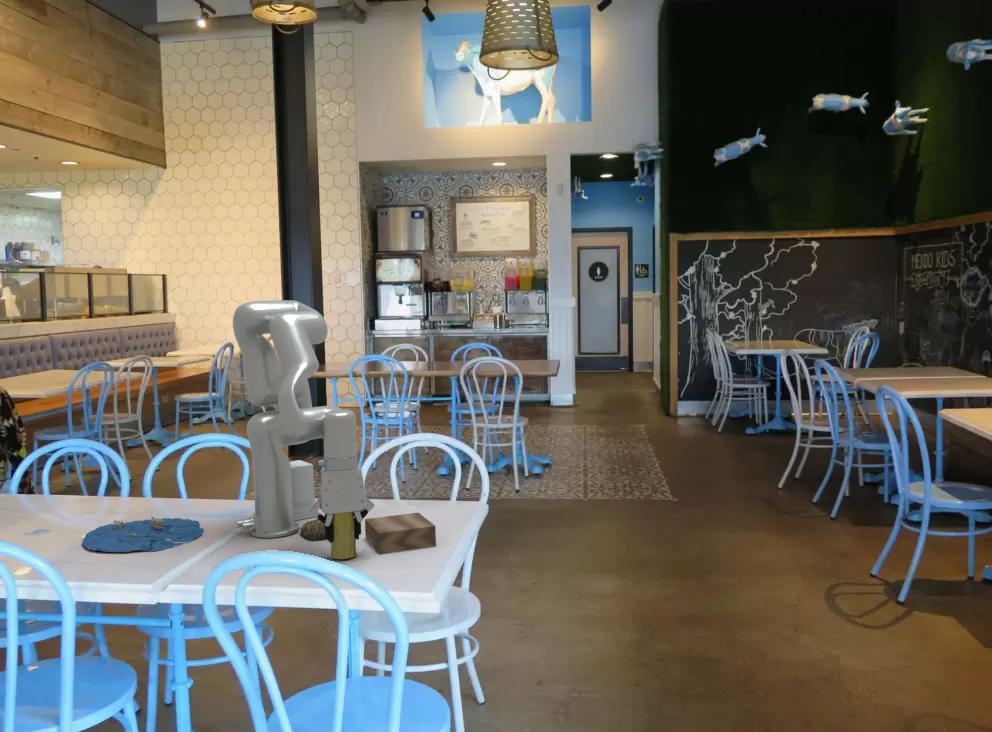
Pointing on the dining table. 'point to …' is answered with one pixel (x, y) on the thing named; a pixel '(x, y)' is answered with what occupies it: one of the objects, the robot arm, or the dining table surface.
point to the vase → (343, 536)
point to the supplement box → (302, 489)
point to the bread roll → (313, 530)
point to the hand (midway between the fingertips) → (343, 538)
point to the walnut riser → (400, 533)
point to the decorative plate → (142, 535)
